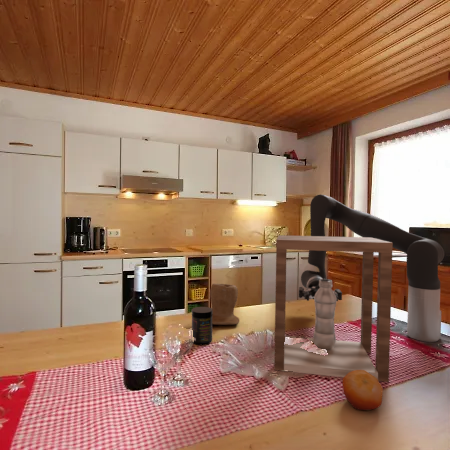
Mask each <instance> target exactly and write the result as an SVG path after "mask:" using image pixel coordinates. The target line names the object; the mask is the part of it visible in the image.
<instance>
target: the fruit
mask: <svg viewBox="0 0 450 450" xmlns="http://www.w3.org/2000/svg"><path fill="white" fill-rule="evenodd" d="M383 389H384V388H383V386H382V385H381V383H380V381H378V379H377V378H376V377H375V376H373V375H371V374H369V373H368V372H366V371H365V370H354V371H351V372H349V373H348V374H346V376H345V377H342V392H343V394H344V397H345V398H346V400H347V402H348V403H349V404H350V405H351V406H352V408H354V409H355V410H359V411H367V410H368V411H370V410H374V409H375V410H376V409H378V408H379V407H381V405H382V402H383Z"/></svg>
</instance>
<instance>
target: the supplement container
mask: <svg viewBox="0 0 450 450" xmlns="http://www.w3.org/2000/svg"><path fill="white" fill-rule="evenodd" d="M212 319H213V309H212V307H210V306H209V307H208V306H196V307H193V308H192V309H191V331H192V330H193V337H194V343H193V344H194V345H196V346H206V345H210V344H211V343H212V342H213V325H212Z"/></svg>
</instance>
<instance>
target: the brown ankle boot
mask: <svg viewBox="0 0 450 450" xmlns="http://www.w3.org/2000/svg"><path fill="white" fill-rule="evenodd" d="M238 290H239V289H238V287H237V285H234V284H230V283H229V284H228V283H212V284H211V286H210V291H209V296H210V303H211V304H210V305H211V308H212V309H213V319H212V326H213V325H214V326H217V325H218V326H219V325H220V326H224V325H225V326H229V325H238V324H239V323H240V318H239V317H238V316H237V315H235V314H234V312H235V307H236V304H237V301H238V294H239V293H238Z"/></svg>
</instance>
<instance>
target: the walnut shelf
mask: <svg viewBox="0 0 450 450" xmlns="http://www.w3.org/2000/svg"><path fill="white" fill-rule="evenodd" d="M392 245H393V243H392V242H388V241H384V240H380V239H376V238H369V237H361V236H359V237H358V236H357V237H356V236H327V235H325V236H311V235H285V234H284V235H283V234H282V235H279V234H278V236H277V238H276V246H275V247H276V248H275V249H276V250H275V253H276V254H275V255H276V256H275V259H276V262H275V302H274V303H275V309H274V312H275V313H274V314H275V315H274V316H275V317H274V356H273V357H274V359H273V361H274V365H273V367H274V369H273V370H274V371H278V370H288V371H293V372H292V373H298V374H309V375H317V376H318V375H319V376H327V377H336V378H337V377H338V378H344V377H345V376H346V374H348V373H349V372H351V371H354V370H365V371H366V372H368V373H369V374H371V375H373V376H375V377H376V378H377V379H378V381H379V382H385V383H389V382H390V349H391V346H390V345H391V319H392V317H391V315H392V314H391V312H392V311H391V310H392V309H391V307H392V281H393V280H392V279H393V277H392V276H393V275H392V272H393V271H392V270H393V248H392ZM287 250H288V251H289V250H291V251H309V250H315V251H326V252H350V253H354V252H355V253H362V265H361V266H362V271H361V272H362V273H361V276H362V278H361V305H360V306H361V309H360V311H361V313H360V314H361V315H360V341H353V340H352V341H351V340H350V341H349V340H337V339H336V343H335V346H334V347H333V348H332V349H326V350H327V353H328V355H325V356H324V355H320V354H316V353H313V352H308V351H307V350H305V349H302V348H300V347H301V346H302V344H304V342H300V343H296V344H293V345H288V344H285V345H284V342H285V336H286V308H287V307H286V299H287V295H286V294H287V291H286V290H287V253H288V252H287ZM374 253H378V255H377V256H378V259H377V260H378V261H377V262H378V263H377V291H376V292H377V295H376V296H377V297H376V330H375V331H376V339H375V340H376V341H375V365H374V363H373V362H372V360H371V358H370V356H369V355H368V354H369V353H370V354H371V353H372V333H373V331H372V329H373V293H374V292H373V290H374V289H373V288H374V285H373V284H374V259H375V258H374V256H375V255H374ZM287 336H288V337H290V338H296V337H297V336H290V335H287ZM306 338H307V339H309V340H310V341H312V342H313V343H314V341H313V337H306ZM288 371H287V372H288Z"/></svg>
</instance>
